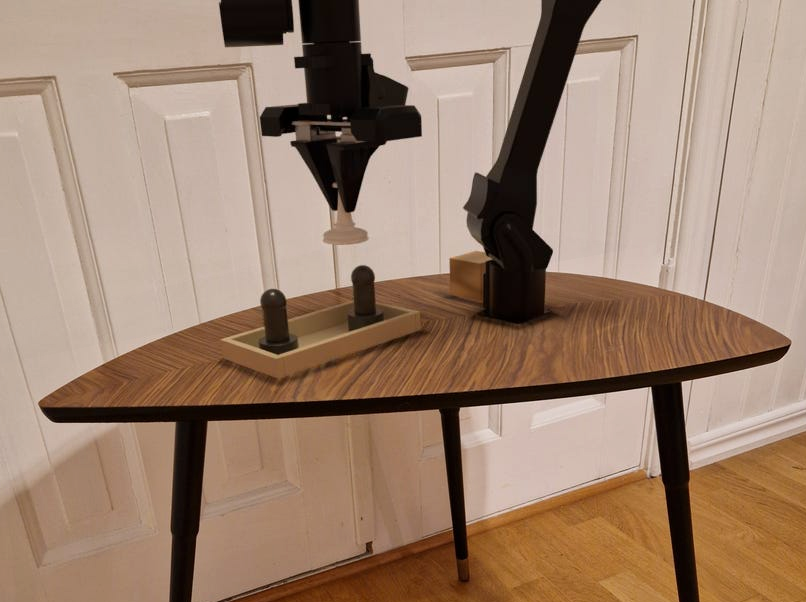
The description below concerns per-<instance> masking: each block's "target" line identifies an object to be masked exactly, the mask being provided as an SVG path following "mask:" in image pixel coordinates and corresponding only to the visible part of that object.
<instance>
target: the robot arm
mask: <svg viewBox="0 0 806 602" xmlns="http://www.w3.org/2000/svg"><path fill="white" fill-rule="evenodd" d="M297 2H298V11H299V13H298V14H299V23H300V24H299V25H300V37H301V48H302V56H293V60H294V69H304V82H305V83H304V84H305V94H306V95H305V97H306V102H299V103H297V104H296V103H295V104H287V105H275V106H265V107H264V109H263V111H262V112H261V115H260V116H259V123H260V131H261V137H271V138H273V137H274V138H279V137H282V135H285V134H286V135H287V134H293V133H294V134H295V140H290V142H289V143H290V147H292V148H295V150H296V151H297V152H298V154H299V155H300V157H301V159H302V160H303V162H304V163H305V165H306V167H307V169H308V170H309V171H310V174H311V175H312V177H313V179H314V180H315V182H316V184H317V186H318V188H319V190H320V191H321V193H322V195H323V197H324V199H325V200H326V203H327V204H328V206H329V208H330V210H331V211H333V212H337V210H338V191H339V195H340V199H341V202H342V205H343V207H344V210H345V212H346V213H350V212H351V213H354V212H355V211H356V208H357V204H358V200H359V197H360V193H361V189H362V185H363V181H364V178H365V173H366V171H367V167H368V165H369V162H370V159H371V158H372V156H373V154H374V153H375V152H376V151H377V150H378V149H379V147H380V146H385V145H386V144H387V142H391V141H399V140H406V139H413V138H422V137H423V125H422V123H423V122H422V113H420V111H419V110H418V108H417V107H416V106H415V105H413V104H412V105H411V104H409V105H408V104H407V98H408V94H409V87H408V86H407V85H405V84H403V83H401V82H399V81H397V80H395V79H392V77H391V78H390V77H388V76H387V75H383V74H380V73H378V72H375V68H374V59H373V57H372V54H371V53H369V52H368V53H363V51H362V33H361V32H362V31H361V17H360V16H361V15H360V14H361V13H360V0H298V1H297ZM540 2H541V4H540V6H541V11H540V18H539V22H538V25H537V29H536V32H535V35H534V38H533V42H532V45H531V47H530V48H531V49H530V52H529V55H528V58H527V61H526V65H525V68H524V71H523V75H522V78H521V81H520V84H519V88H518V92H517V94H516V98H515V101H514V104H513V108H512V111H511V114H510V118H509V120H508V124H507V127H506V131H505V134H504V136H503V137H504V138H503V140H502V142H501V147H500V151H499V154H498V157H497V159H496V160H495V163H494V164H493V166H492V167H491V169H490V170H489V172H488V173H487V174H486V175H483V174H482V173H479V172H474V174H473V178H472V182H471V189H470V194H469V197H468V199H467V201H466V202H465V204H464V205H463V207H462V209H463V210H464V211H465V212H466V213H467V215H466V221H465V222H466V228H467V230H468V232H469V234H470V236H471V237H472V238H473V239H474V240H475V242H477V243H478V244H479V245H480V246H482V248H483V252H485V254H486V256H487V257H490V258H491V259H492V260H489V261H486V273H484V274H483V300H482V307H483V309H482V310H480V311H477V312H476V315H477V316H480V317H485V318H489V319H492V320H497V321H502V322H505V323H509V324H510V323H511V324H515V325H521V324H525V323H527V322H529V321H532V320H535V319H538V318H540V317H542V316H545V315H548V314H551V313H553V312H554V311H553V309H552V308H547V307H545V306H546V281H547V280H546V279H547V269H548V267H549V264H550V262H551V259H552V257H553V253H554V249H553V248H552V247H551V246H550V245H549V244H548V243H547V242H546V241H545V240H544V239H543V238H542V237H541V236H540V235H539V234H538V233H537V232H536V231H535V230H534V225H535V218H536V213H537V206H538V172H539V167H540V164H541V161H542V158H543V156H544V151H545V149H546V146H547V142H548V140H549V136H550V133H551V130H552V128H553V124H554V121H555V118H556V115H557V111H558V109H559V106H560V103H561V99H562V96H563V94H564V91H565V87H566V84H567V81H568V78H569V75H570V72H571V69H572V66H573V62H574V60H575V57H576V53H577V50H578V47H579V44H580V41H581V38H582V35H583V31H584V29H585V27H586V25H587V23H588V21H589V20H590V18H591V17H592V15H593V14H594V12H595V11H596V9H597V8H598V6H599V5H600V3H601V2H602V0H541V1H540ZM218 8H219V15H220V24H221V30H222V37H223V45H224V48H245V47H246V48H247V47H268V46H284V35H286V34H287V33H289V34H292V33H293V34H294V33H295V24H294V10H293V9H294V8H293V0H220V1H219V2H218ZM328 116H330V117H328ZM337 132H338V133H341V134H339V135H340V136H338V135H337ZM337 139H341V142H337ZM335 182H336V184H337V187H338V188H334V187H332V185H333V183H335Z"/></svg>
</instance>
